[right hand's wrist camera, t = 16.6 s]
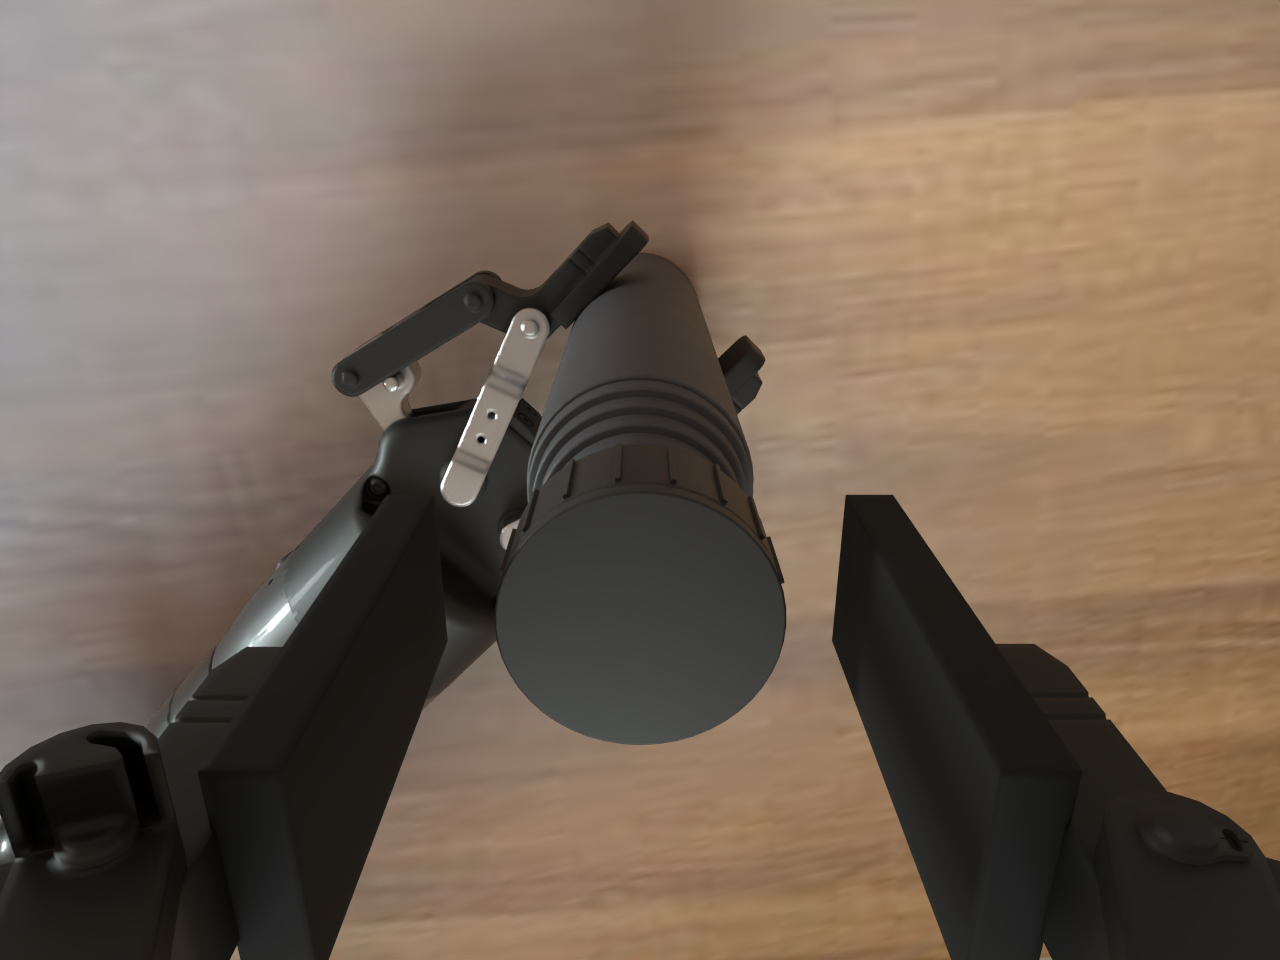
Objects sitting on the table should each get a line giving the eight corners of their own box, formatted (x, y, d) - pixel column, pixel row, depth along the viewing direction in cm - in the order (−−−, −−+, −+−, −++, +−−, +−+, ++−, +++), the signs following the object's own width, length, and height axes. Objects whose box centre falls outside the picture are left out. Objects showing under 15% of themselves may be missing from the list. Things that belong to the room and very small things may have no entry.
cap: (794, 457, 14) (818, 508, 12) (747, 687, 16) (761, 762, 14) (521, 424, 14) (503, 470, 12) (502, 660, 16) (483, 732, 14)
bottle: (622, 391, 36) (598, 777, 15) (557, 295, 35) (425, 567, 13) (720, 330, 35) (846, 646, 14) (657, 228, 34) (690, 405, 12)
